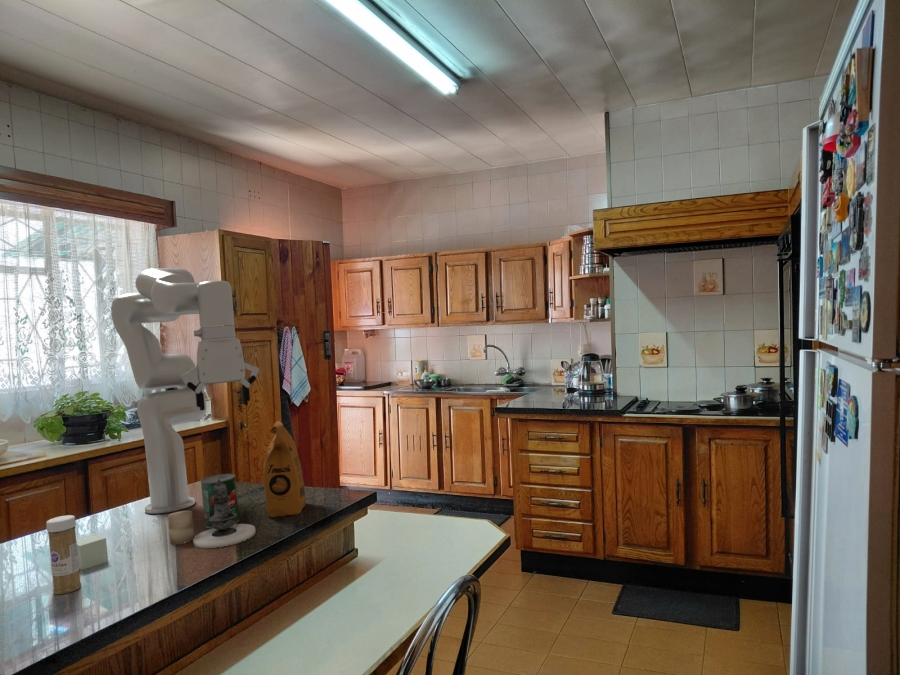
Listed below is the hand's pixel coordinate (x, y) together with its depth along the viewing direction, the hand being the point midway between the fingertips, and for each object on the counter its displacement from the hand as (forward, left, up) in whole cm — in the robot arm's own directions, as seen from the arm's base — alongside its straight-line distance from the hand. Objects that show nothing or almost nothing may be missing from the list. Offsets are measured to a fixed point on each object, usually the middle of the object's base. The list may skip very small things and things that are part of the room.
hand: (223, 407), depth 148 cm
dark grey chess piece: (+7, -4, -27) cm, 28 cm away
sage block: (+2, -30, -28) cm, 41 cm away
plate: (+7, -4, -28) cm, 29 cm away
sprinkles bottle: (+16, -34, -28) cm, 47 cm away
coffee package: (-4, +13, -29) cm, 32 cm away
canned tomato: (-6, -2, -29) cm, 29 cm away
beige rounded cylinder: (+1, -12, -28) cm, 31 cm away
